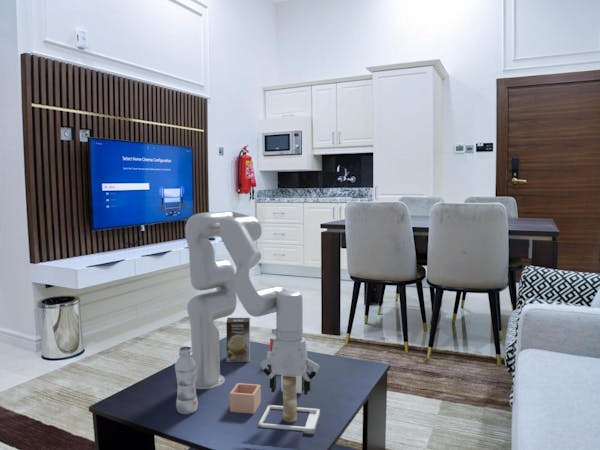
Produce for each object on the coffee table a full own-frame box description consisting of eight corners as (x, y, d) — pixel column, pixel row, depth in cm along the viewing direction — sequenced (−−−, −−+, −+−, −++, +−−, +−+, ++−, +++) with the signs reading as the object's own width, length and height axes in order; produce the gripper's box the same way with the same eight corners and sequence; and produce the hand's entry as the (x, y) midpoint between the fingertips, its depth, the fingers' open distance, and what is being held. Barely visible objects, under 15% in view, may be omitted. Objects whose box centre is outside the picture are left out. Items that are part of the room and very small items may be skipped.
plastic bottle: (187, 419, 143) (185, 353, 141) (171, 414, 146) (169, 349, 145) (202, 410, 148) (201, 347, 146) (186, 405, 152) (185, 343, 150)
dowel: (281, 422, 140) (281, 378, 139) (284, 415, 144) (284, 373, 143) (295, 423, 139) (294, 379, 138) (298, 416, 143) (297, 374, 142)
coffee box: (226, 362, 188) (225, 322, 186) (227, 356, 194) (226, 317, 193) (249, 362, 188) (249, 321, 187) (250, 356, 195) (250, 317, 193)
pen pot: (230, 414, 146) (229, 393, 146) (237, 402, 154) (237, 383, 153) (254, 416, 145) (254, 395, 144) (260, 404, 152) (260, 384, 152)
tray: (258, 429, 137) (258, 424, 137) (268, 409, 149) (268, 404, 149) (314, 434, 134) (314, 429, 134) (320, 413, 146) (320, 409, 146)
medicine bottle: (302, 395, 159) (302, 360, 157) (281, 393, 160) (280, 358, 159) (306, 386, 166) (306, 352, 164) (286, 384, 167) (285, 351, 166)
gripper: (257, 336, 137) (257, 395, 139) (317, 340, 134) (317, 399, 136) (263, 328, 144) (264, 384, 146) (321, 331, 141) (321, 388, 143)
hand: (290, 391), depth 141 cm, fingers open, 9 cm apart
